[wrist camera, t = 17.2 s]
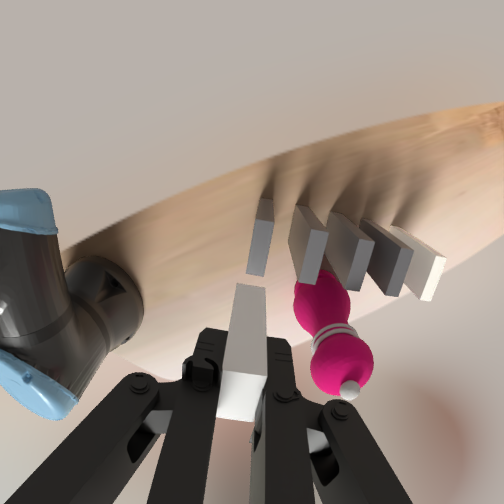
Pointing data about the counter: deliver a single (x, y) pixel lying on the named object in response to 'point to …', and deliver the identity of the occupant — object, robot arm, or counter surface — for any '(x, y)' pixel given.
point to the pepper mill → (332, 337)
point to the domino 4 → (387, 258)
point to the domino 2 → (307, 244)
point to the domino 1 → (261, 238)
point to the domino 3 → (347, 251)
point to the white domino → (421, 265)
